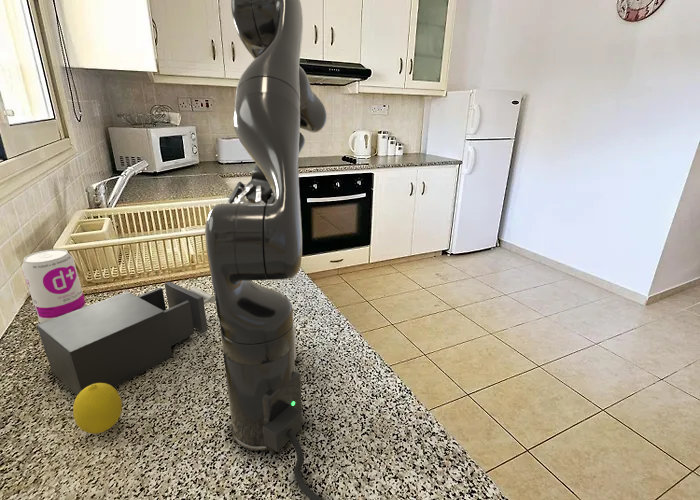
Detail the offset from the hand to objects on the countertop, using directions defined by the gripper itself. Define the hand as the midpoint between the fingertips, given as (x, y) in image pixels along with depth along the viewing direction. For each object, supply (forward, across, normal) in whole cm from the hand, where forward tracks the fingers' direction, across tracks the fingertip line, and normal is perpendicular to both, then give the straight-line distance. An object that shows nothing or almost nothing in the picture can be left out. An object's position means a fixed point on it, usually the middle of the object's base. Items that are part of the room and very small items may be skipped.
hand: (239, 225), depth 84 cm
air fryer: (+35, 0, -8) cm, 36 cm away
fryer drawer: (+26, 0, -1) cm, 26 cm away
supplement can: (+34, -23, -8) cm, 42 cm away
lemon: (+40, +14, -14) cm, 45 cm away
